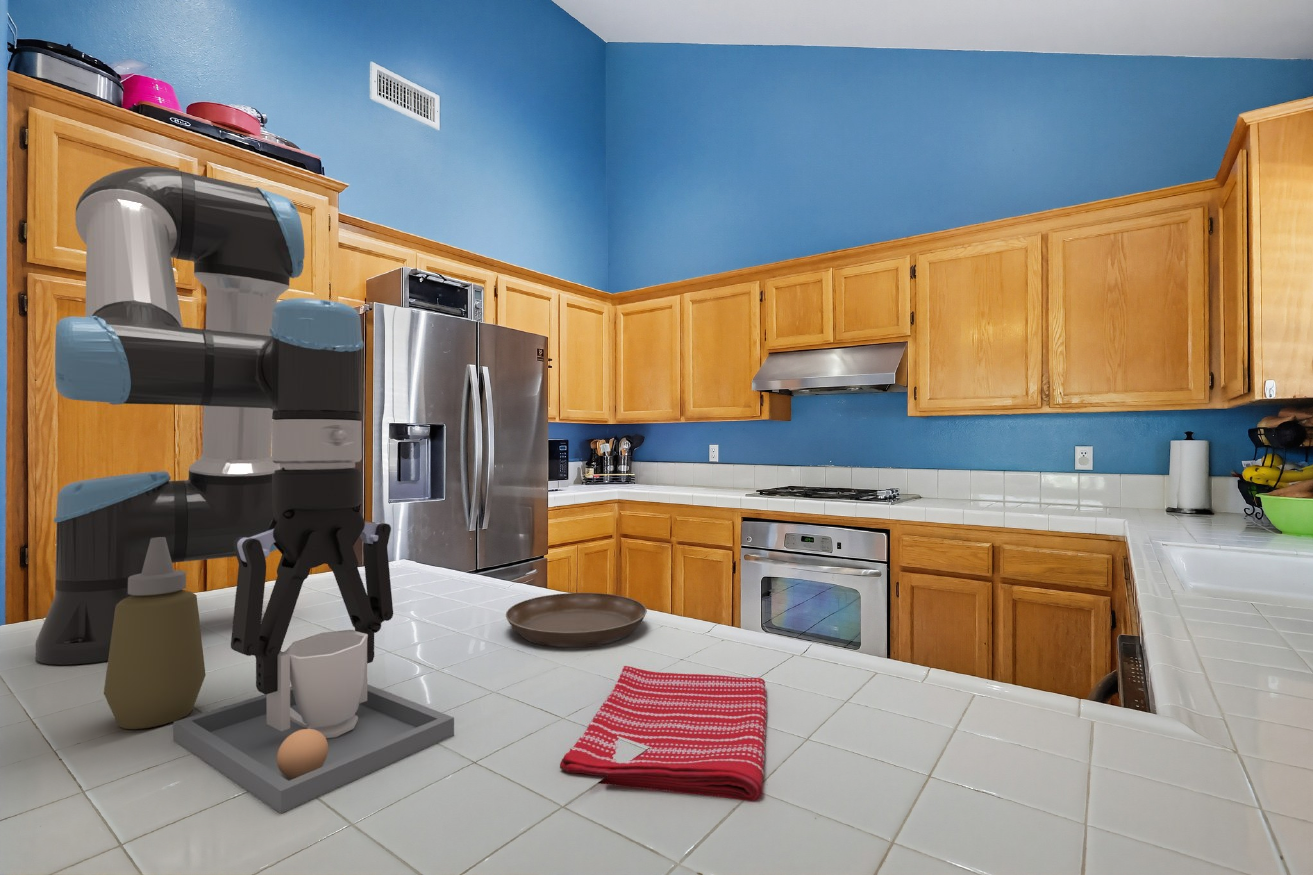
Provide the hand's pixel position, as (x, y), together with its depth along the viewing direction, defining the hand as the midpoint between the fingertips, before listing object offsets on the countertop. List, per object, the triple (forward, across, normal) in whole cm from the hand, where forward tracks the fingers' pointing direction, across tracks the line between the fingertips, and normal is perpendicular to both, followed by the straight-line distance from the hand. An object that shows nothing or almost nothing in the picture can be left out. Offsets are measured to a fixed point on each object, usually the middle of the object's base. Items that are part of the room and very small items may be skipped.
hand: (319, 711), depth 60 cm
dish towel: (+3, +21, -27) cm, 34 cm away
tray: (+2, -1, -2) cm, 3 cm away
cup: (+2, 0, 0) cm, 2 cm away
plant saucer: (+3, +40, +3) cm, 40 cm away
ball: (+2, -5, -8) cm, 9 cm away
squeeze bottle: (+2, -7, +17) cm, 19 cm away
